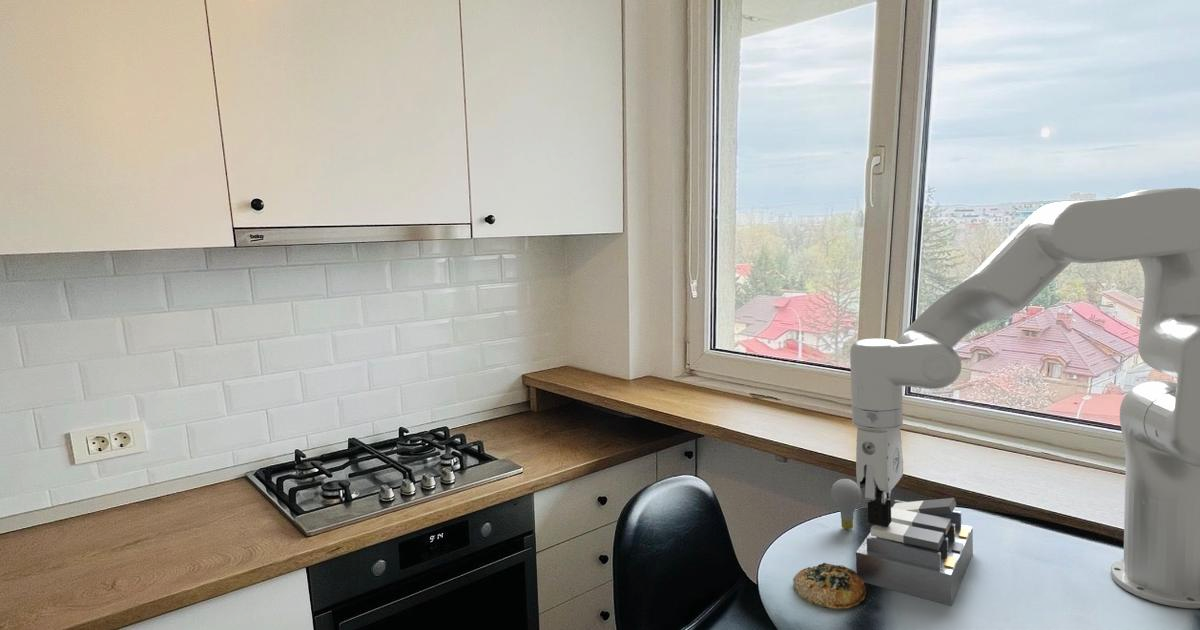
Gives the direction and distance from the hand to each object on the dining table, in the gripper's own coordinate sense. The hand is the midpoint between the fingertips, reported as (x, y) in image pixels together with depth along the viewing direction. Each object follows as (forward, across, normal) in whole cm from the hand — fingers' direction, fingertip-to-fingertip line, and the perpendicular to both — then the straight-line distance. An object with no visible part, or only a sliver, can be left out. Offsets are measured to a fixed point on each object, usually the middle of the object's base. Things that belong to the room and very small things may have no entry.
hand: (879, 523), depth 106 cm
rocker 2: (+1, +6, -4) cm, 7 cm away
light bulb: (+10, +14, +10) cm, 19 cm away
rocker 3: (+1, 0, -4) cm, 4 cm away
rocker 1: (+1, +11, -4) cm, 12 cm away
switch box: (+9, +6, -4) cm, 12 cm away
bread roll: (+10, -9, +6) cm, 14 cm away
